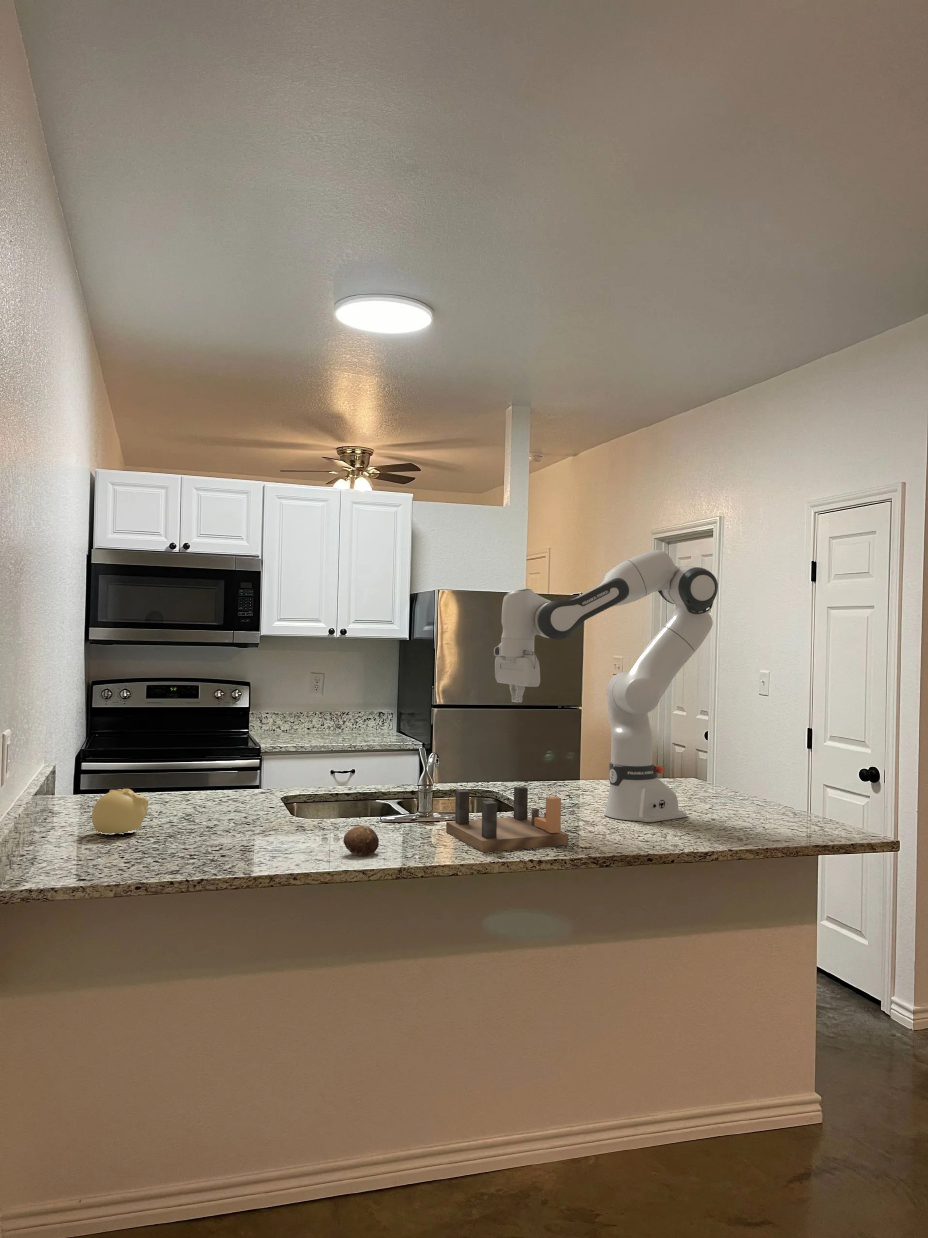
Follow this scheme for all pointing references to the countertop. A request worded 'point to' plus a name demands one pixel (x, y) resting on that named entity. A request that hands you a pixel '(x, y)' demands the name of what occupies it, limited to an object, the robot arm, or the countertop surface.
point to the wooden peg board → (501, 826)
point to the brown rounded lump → (361, 841)
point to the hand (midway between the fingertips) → (516, 702)
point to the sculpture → (119, 811)
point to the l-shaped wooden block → (550, 816)
